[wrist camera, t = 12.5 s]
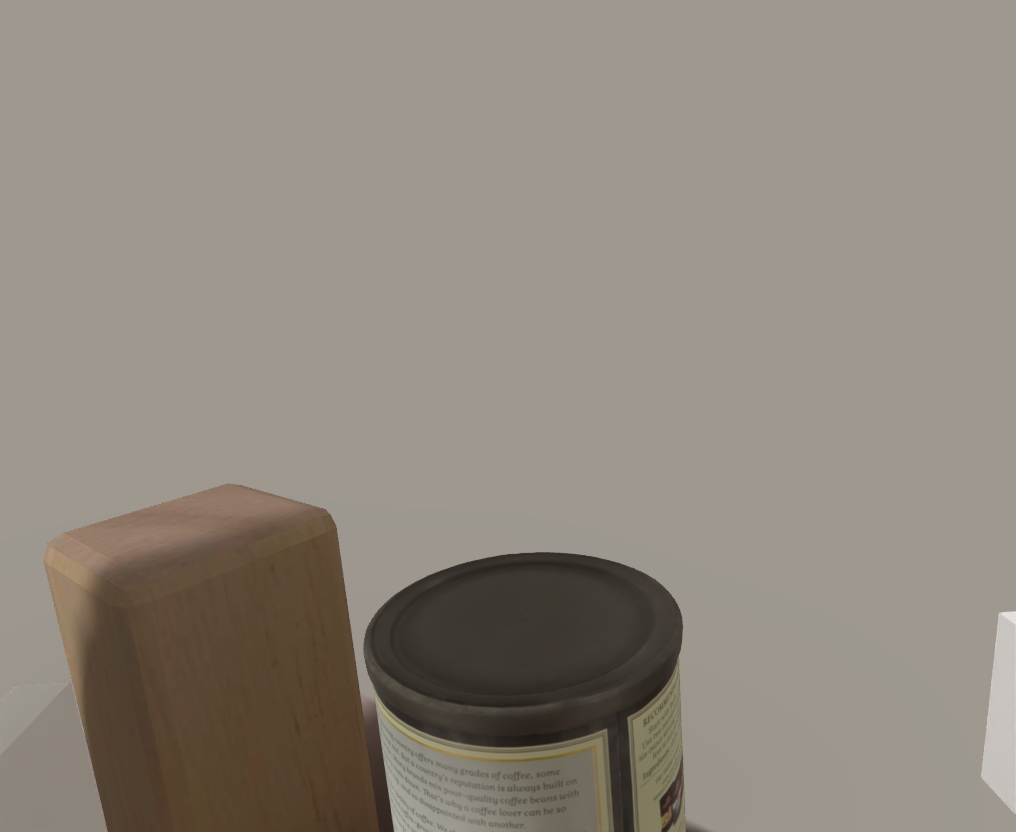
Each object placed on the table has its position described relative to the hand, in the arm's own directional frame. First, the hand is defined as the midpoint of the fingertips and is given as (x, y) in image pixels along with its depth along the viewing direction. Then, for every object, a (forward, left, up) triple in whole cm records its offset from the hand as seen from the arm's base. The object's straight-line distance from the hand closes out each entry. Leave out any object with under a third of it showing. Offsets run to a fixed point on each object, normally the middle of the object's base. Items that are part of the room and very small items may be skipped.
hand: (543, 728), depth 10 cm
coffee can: (-6, +11, -19) cm, 23 cm away
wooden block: (-24, +12, -24) cm, 36 cm away
